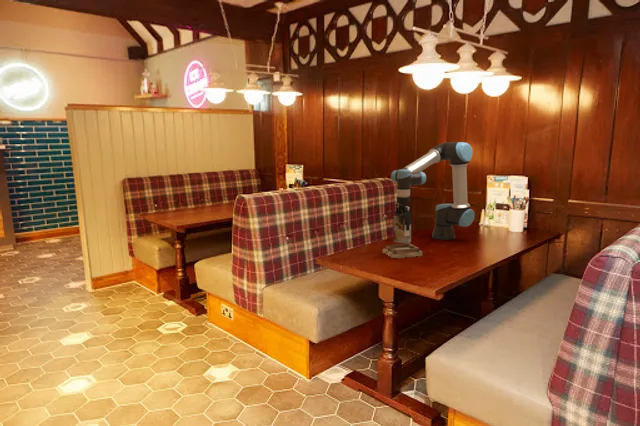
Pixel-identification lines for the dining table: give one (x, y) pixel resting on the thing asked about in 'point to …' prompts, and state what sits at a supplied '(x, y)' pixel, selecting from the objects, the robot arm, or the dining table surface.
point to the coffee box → (400, 229)
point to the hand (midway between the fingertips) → (402, 233)
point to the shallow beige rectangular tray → (402, 250)
